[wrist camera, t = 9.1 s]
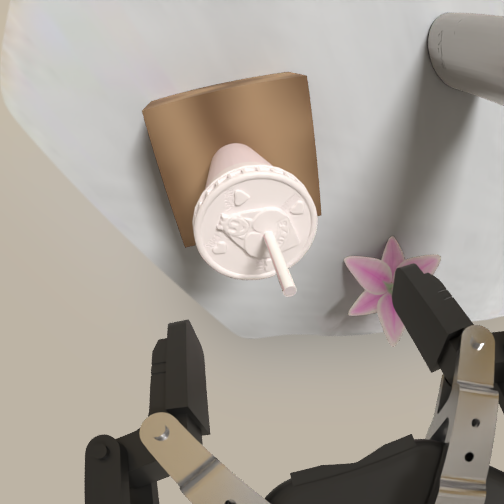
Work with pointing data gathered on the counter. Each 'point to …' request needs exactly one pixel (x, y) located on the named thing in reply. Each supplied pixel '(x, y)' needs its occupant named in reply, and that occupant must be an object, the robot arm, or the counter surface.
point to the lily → (384, 285)
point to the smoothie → (253, 218)
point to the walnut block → (231, 135)
